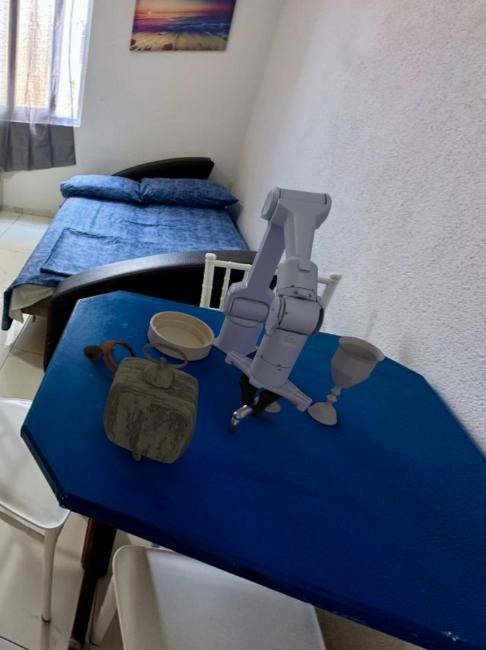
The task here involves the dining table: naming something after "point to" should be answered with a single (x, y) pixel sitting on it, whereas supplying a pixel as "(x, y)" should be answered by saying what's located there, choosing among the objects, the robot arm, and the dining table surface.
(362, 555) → the dining table surface
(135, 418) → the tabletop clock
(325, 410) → the chalice
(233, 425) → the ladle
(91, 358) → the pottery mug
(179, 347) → the bowl
